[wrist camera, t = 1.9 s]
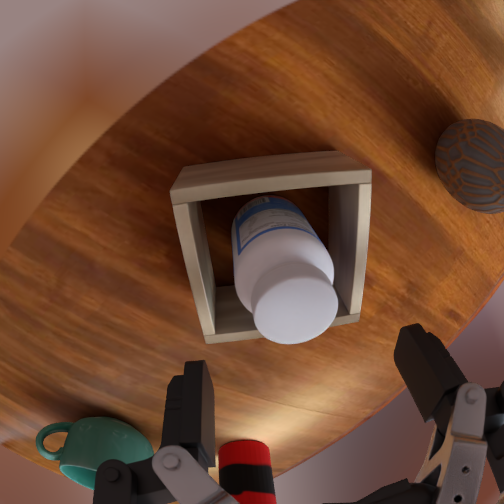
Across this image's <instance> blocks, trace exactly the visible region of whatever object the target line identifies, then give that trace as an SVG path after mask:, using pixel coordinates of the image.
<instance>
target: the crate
mask: <svg viewBox="0 0 504 504" xmlns="http://www.w3.org/2000/svg"><path fill="white" fill-rule="evenodd" d="M371 178H372V170H371V169H370V168H368V167H367V166H365V165H363V164H361V163H360V162H358V161H356V160H354V159H352V158H350V157H349V156H347V155H345V154H343V153H341V152H339V151H321V152H306V153H293V154H281V155H270V156H261V157H251V158H243V159H234V160H227V161H219V162H212V163H205V164H198V165H192V166H185V167H183V168H182V170H181V172H180V174H179V175H178V177H177V179H176V180H175V182H174V184H173V186H172V187H171V189H170V197H171V202H172V204H173V206H172V207H173V211H174V216H175V221H176V226H177V230H178V235H179V239H180V244H181V248H182V252H183V257H184V261H185V265H186V269H187V273H188V277H189V282H190V286H191V290H192V293H193V297H194V301H195V305H196V309H197V313H198V316H199V320H200V324H201V327H202V331H203V334H204V339H205V342H206V344H211V343H221V342H230V341H239V340H247V339H255V338H263V337H264V336H263V335H262V334H261V333H260V332H259V331H258V329H257V327H256V326H255V323H254V319H253V313H251V312H250V311H249V310H247V309H246V307H245V306H244V305H243V304H242V302H241V301H240V299H239V297H238V295H237V292H236V288H235V285H231V286H223V287H216V283H215V278H214V273H213V268H212V262H211V257H210V252H209V246H208V241H207V236H206V230H205V224H204V219H203V213H202V207H201V201H200V200H207V199H215V198H222V197H230V196H237V195H245V194H254V193H262V192H271V191H280V190H290V189H300V188H311V187H322V186H328V188H329V235H328V253H329V255H330V257H331V259H332V263H333V267H334V279H333V284H332V286H333V288H334V290H335V292H336V295H337V298H338V310H337V313H336V316H335V318H334V320H333V322H332V323H331V325H330V326H329V327H332V326H338V325H343V324H348V323H353V322H358V321H359V317H360V309H361V302H362V295H363V287H364V278H365V269H366V260H367V249H368V237H369V224H370V207H371Z"/></svg>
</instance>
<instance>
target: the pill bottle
mask: <svg viewBox="0 0 504 504" xmlns="http://www.w3.org/2000/svg"><path fill="white" fill-rule="evenodd" d="M231 239H232V252H233V266H234V280H235V288H236V292H237V295H238V297H239V299H240V301H241V302H242V304H243V305H244V306H245V307H246V309H247V310H249V311H250V312H251V313H253V319H254V323H255V326H256V327H257V329H258V331H259V332H260V333H261V334H262V335H263V336H264V337H266V338H267V339H269V340H271V341H274V342H277V343H282V344H296V343H301V342H305V341H308V340H310V339H313V338H315V337H317V336H318V335H320V334H321V333H323V332H324V331H325V330H326V329H327V328H328V327H329V326H330V325H331V323H332V322H333V320H334V318H335V316H336V313H337V310H338V298H337V295H336V292H335V290H334V288H333V286H332V284H333V279H334V267H333V263H332V259H331V257H330V255H329V253H328V252H327V250H326V248H325V246H324V245H323V243H322V242H321V240H320V239H319V237H318V236H317V234H316V233H315V231H314V230H313V228H312V227H311V225H310V224H309V222H308V221H307V219H306V218H305V216H304V215H303V213H302V212H301V210H300V209H299V208H298V207H297V206H296V205H295V204H294V203H292V202H291V201H289V200H288V199H285V198H283V197H280V196H275V195H265V196H260V197H257V198H254V199H252V200H250V201H249V202H247V203H246V204H245V205H244V206H243V207H242V208H241V209H240V210H239V211H238V212H237V214H236V216H235V218H234V220H233V223H232V229H231Z"/></svg>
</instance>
